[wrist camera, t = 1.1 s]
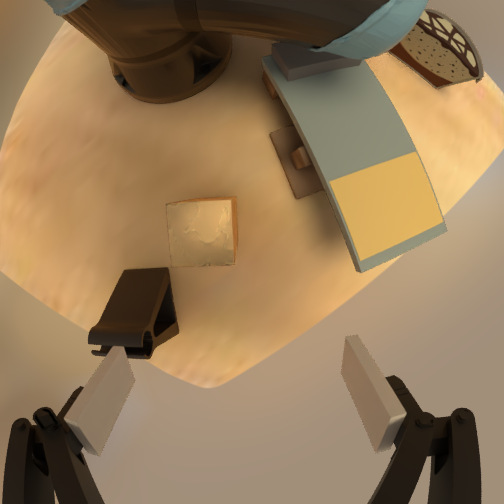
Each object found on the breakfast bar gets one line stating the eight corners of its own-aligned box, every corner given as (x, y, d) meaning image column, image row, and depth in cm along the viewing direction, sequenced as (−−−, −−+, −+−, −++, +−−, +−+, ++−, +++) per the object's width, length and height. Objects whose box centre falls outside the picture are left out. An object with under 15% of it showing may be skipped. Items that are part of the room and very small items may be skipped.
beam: (261, 65, 23) (260, 45, 20) (345, 46, 23) (353, 27, 19) (356, 271, 23) (369, 275, 20) (439, 231, 23) (459, 230, 19)
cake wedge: (449, 70, 27) (489, 52, 17) (443, 95, 28) (486, 79, 18) (387, 21, 26) (418, -10, 16) (376, 44, 27) (410, 12, 17)
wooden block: (192, 198, 31) (166, 203, 20) (236, 196, 31) (231, 199, 20) (195, 241, 32) (171, 267, 22) (238, 239, 32) (234, 264, 22)
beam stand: (246, 84, 28) (246, 61, 22) (342, 59, 27) (359, 37, 21) (295, 198, 31) (308, 201, 25) (388, 164, 31) (416, 161, 24)
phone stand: (179, 332, 35) (154, 389, 23) (138, 331, 35) (102, 384, 23) (168, 266, 33) (132, 305, 21) (125, 269, 33) (76, 305, 21)
